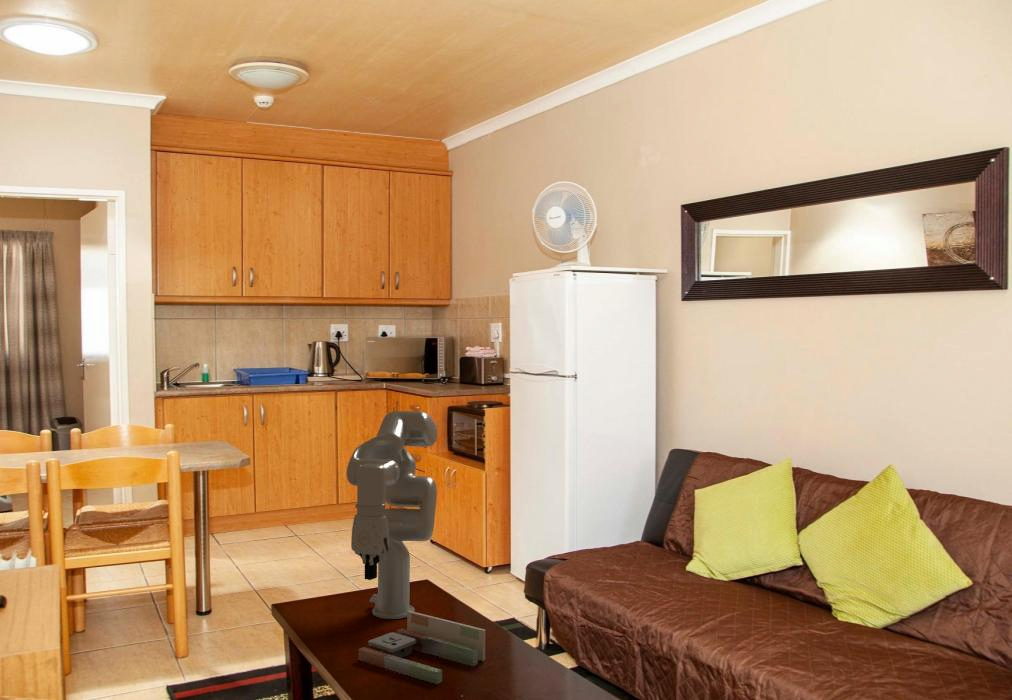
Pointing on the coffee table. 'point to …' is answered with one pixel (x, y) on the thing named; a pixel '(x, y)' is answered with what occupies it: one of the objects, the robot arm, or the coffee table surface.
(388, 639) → the electrical switch
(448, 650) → the far rail
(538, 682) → the coffee table surface
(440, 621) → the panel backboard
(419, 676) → the near rail
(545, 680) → the coffee table surface
